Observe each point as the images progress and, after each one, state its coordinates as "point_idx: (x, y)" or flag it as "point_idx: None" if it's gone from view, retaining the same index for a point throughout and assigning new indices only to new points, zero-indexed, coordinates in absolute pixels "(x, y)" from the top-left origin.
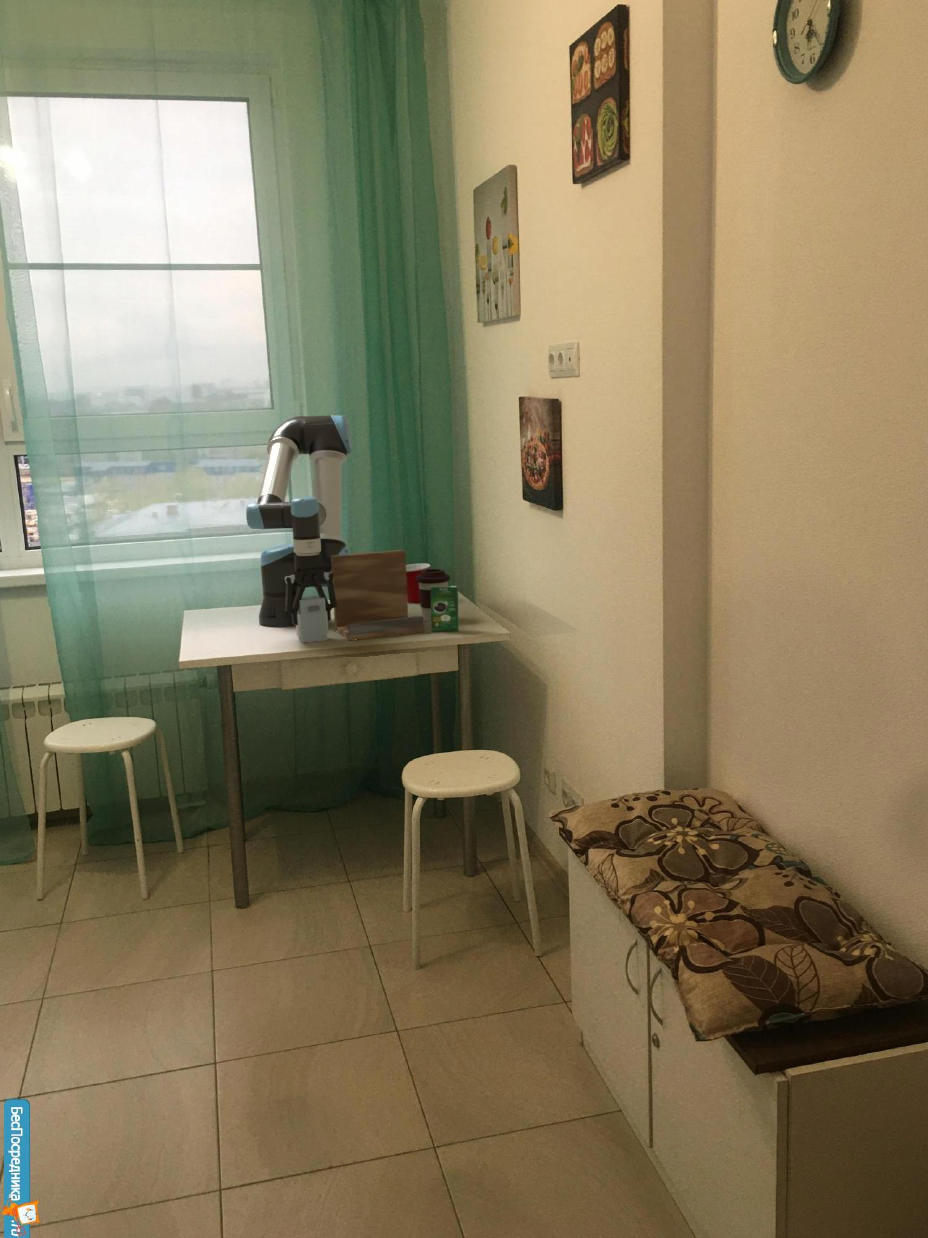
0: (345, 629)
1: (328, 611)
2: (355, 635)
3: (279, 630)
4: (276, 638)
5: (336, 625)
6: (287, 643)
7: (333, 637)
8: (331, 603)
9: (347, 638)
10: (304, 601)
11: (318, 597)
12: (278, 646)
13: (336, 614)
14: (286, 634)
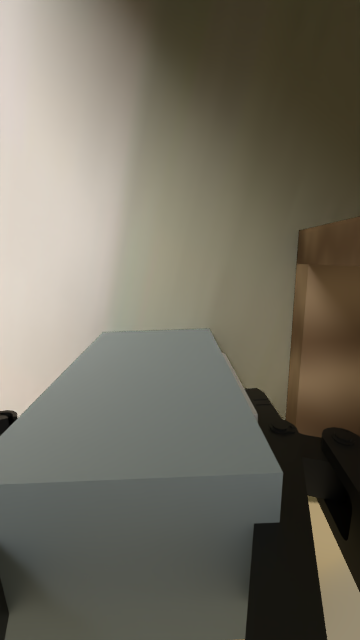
0: (321, 342)
1: None
2: None
3: (41, 57)
4: (11, 257)
5: (312, 260)
6: (49, 376)
7: (247, 359)
8: (329, 481)
9: (286, 411)
10: (46, 631)
11: (223, 576)
12: (9, 408)
13: (353, 265)
14: (66, 190)
